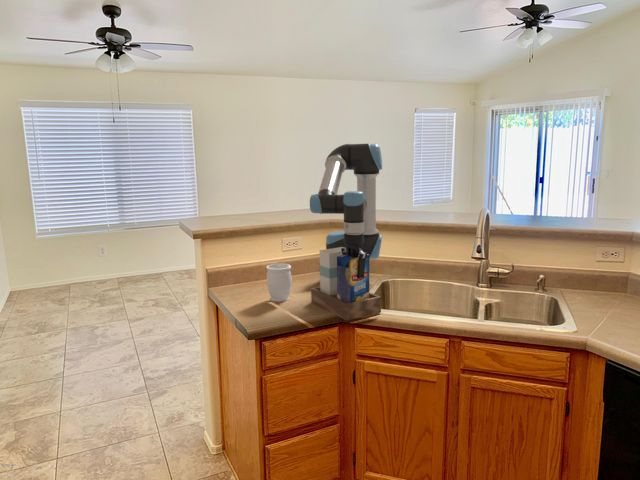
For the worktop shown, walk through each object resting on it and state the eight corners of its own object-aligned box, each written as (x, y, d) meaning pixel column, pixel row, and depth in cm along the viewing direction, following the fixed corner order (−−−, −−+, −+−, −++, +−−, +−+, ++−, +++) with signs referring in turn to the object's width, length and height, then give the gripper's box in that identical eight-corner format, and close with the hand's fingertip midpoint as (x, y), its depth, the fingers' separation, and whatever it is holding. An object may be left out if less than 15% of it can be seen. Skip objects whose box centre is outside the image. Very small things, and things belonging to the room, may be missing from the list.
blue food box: (369, 309, 180) (369, 254, 176) (350, 317, 172) (350, 259, 168) (355, 305, 185) (355, 251, 181) (337, 312, 177) (336, 256, 173)
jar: (288, 305, 190) (287, 269, 188) (264, 303, 192) (262, 268, 190) (294, 297, 201) (294, 263, 198) (272, 296, 203) (270, 262, 200)
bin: (343, 297, 199) (343, 281, 197) (380, 314, 178) (381, 296, 176) (311, 304, 190) (311, 288, 189) (346, 323, 169) (346, 304, 168)
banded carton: (342, 298, 195) (342, 246, 190) (352, 302, 189) (352, 249, 185) (320, 303, 189) (319, 250, 185) (329, 307, 183) (329, 253, 179)
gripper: (333, 231, 178) (334, 290, 182) (358, 237, 165) (358, 300, 169) (349, 229, 181) (349, 287, 186) (374, 235, 168) (374, 297, 173)
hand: (353, 293), depth 177 cm, fingers closed on blue food box, 2 cm apart
